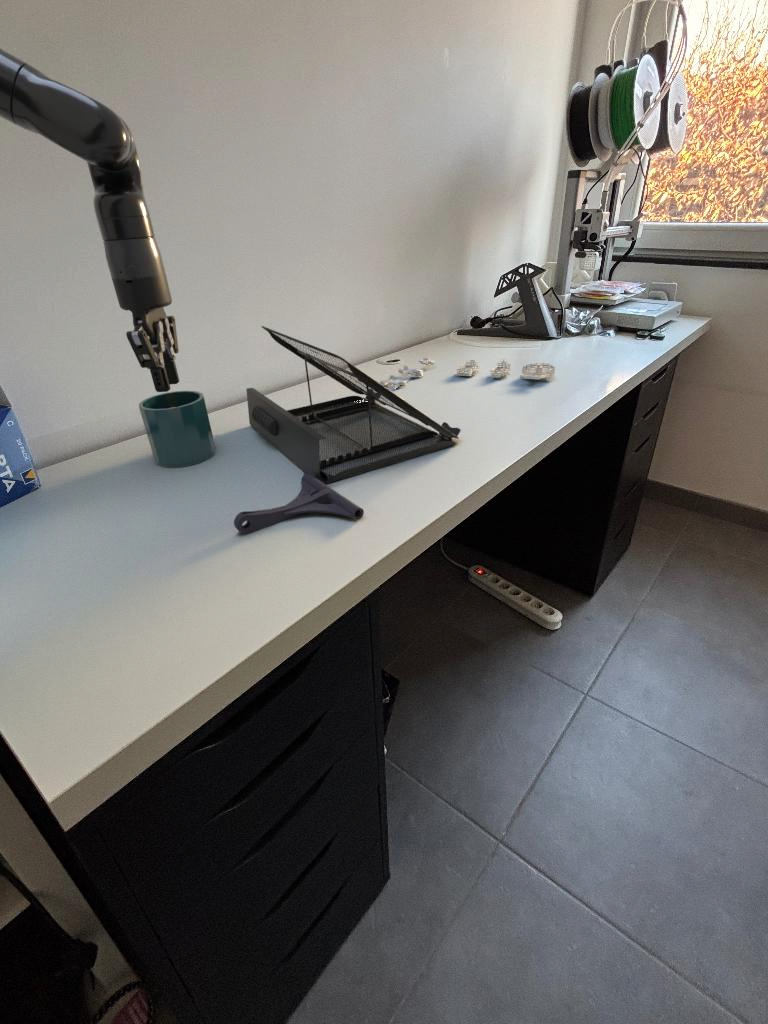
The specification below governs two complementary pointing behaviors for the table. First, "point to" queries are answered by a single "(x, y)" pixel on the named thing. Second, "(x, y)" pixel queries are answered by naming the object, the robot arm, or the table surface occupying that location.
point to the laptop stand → (304, 440)
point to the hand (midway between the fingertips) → (168, 386)
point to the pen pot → (178, 428)
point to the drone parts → (470, 369)
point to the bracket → (300, 506)
